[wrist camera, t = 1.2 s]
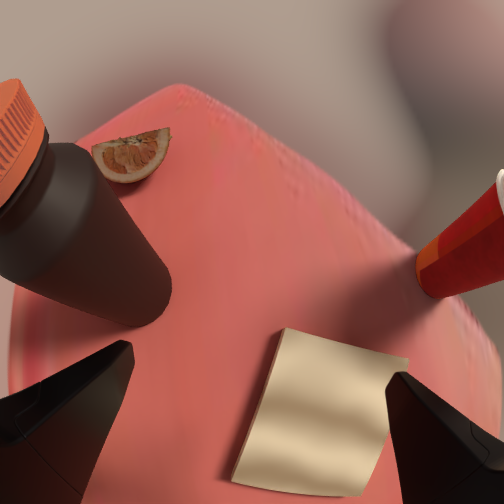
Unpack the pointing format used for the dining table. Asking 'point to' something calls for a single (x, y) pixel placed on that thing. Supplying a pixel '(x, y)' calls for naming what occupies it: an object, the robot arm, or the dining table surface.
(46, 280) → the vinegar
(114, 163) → the fruit slice
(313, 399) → the napkin
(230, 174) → the dining table surface
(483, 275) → the coffee cup
